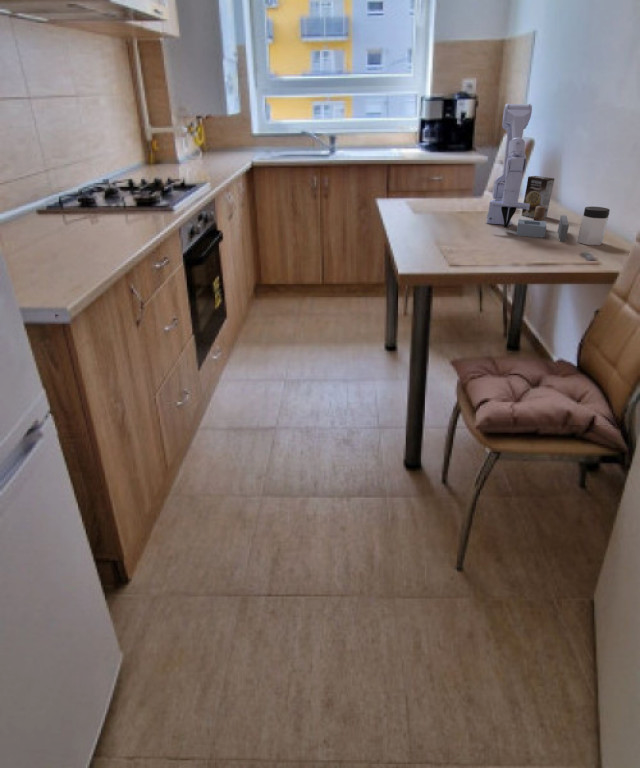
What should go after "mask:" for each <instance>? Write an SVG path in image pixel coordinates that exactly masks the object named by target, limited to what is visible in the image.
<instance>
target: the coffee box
mask: <svg viewBox="0 0 640 768" xmlns="http://www.w3.org/2000/svg"><path fill="white" fill-rule="evenodd" d="M554 182H555V178H553V177H547V176H546V177H545V176H539V175H532V176H531V175H530V176H528V177H527V183H526V187H525V188H526V189H525V193H524V199H523V203H528V204H530V207H529V210H526V209H521V214H520V215H521V216H523V215H524V216H523V217H528V216H529V218H534V214H535V209H536V206H543V207H546V208H545V213H544V218H547V217H548V211H549V206H550V203H551V198H552V192H553V187H554V184H555V183H554Z"/></svg>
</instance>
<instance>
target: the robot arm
mask: <svg viewBox="0 0 640 768" xmlns="http://www.w3.org/2000/svg"><path fill="white" fill-rule="evenodd" d="M532 113H533V105H532V104H531V103H527V104H526V103H525V104H523V103H507V102H506V104H505V105H504V108H503V113H502V115H503V116H502V122H501V123H502V124H501V125H502V129H503V130H505V131H506V132H505V133H506V143H505V152H504V159H503V167H502V168H503V169H502V174H501V175H499V176H498V177H496V178H495V180H494V184H493V186H492V195H491V196H492V198H493V199H490V201H489V207H488V213H487V215H486V224H491V225H492V224H493V225H502V226H503V228H505V229H508V228H509V226H511V225H512V218H513V216H514V215H515V213H516V212H517V210H518V209H519V210H522V209H526V210H529V207H530V204H528V203H524V202H519V196H520V192H521V186H522V179H523V174H524V173H525V170H526V166H527V156H526V155H527V154H526V152H525V149H526V142H525V139H524V138H523V133H524V130H525V129H527V127H528V124H529V123H530V120H531V117H532Z"/></svg>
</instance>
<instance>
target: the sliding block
mask: <svg viewBox="0 0 640 768" xmlns="http://www.w3.org/2000/svg"><path fill="white" fill-rule="evenodd" d="M546 230H547V221H545V220H543V221H534V219H532V220H531V219H519V218H518V222H517V227H516V234H515V235H516V236H521V237H531V236H532V237H535V238H543V237H544V238H545V236H546Z"/></svg>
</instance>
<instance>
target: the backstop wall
mask: <svg viewBox="0 0 640 768" xmlns="http://www.w3.org/2000/svg"><path fill="white" fill-rule="evenodd" d="M569 226H570V224H569V220H568V217H567V215H565V214H561V215H560V218H559V223H558V228H557V234H559V235H558V239H559V240H560V241H559V242H562V241H565V242H566V240H567V237H568V231H569Z"/></svg>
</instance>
